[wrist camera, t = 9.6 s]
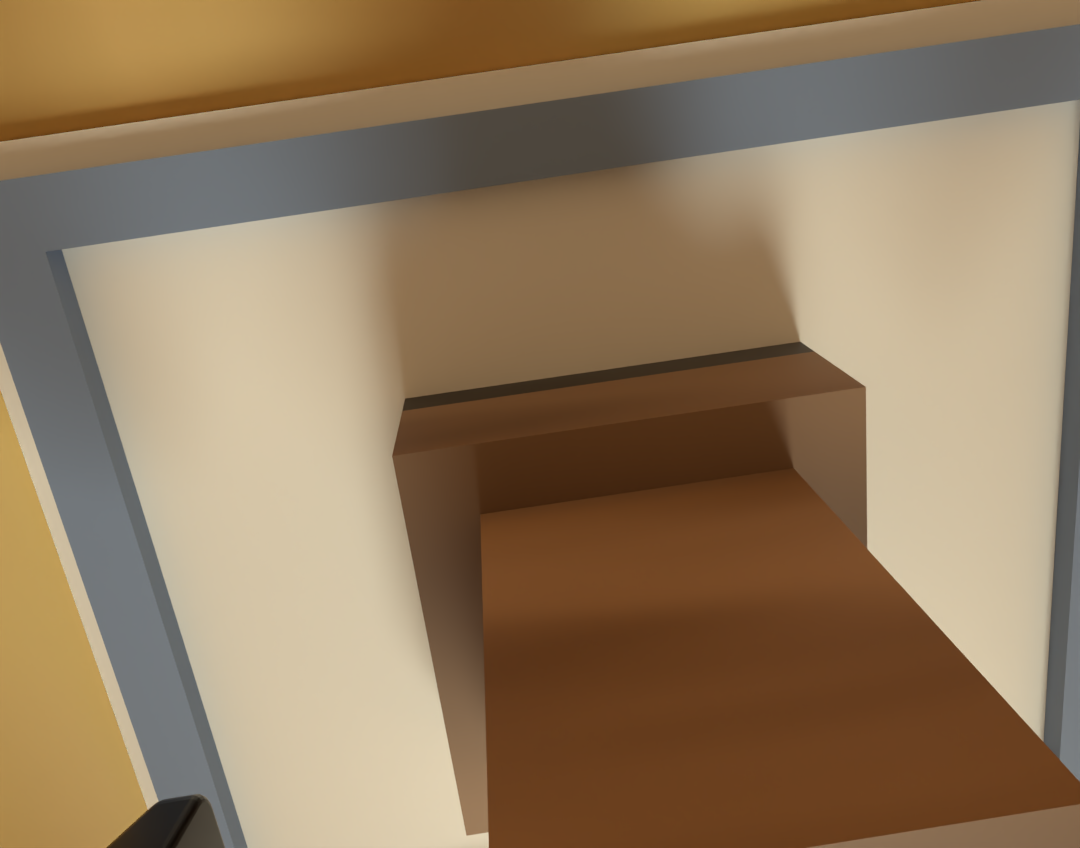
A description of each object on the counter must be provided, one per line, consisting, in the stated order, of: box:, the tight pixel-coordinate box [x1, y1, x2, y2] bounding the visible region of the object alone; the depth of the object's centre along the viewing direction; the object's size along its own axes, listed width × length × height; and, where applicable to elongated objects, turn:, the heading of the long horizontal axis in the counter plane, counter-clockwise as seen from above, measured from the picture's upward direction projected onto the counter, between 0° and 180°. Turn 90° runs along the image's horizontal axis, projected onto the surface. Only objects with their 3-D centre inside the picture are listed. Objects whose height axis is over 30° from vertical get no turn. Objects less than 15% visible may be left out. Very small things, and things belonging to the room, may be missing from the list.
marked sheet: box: [0, 0, 1080, 848], centre depth 12 cm, size 12×14×1 cm
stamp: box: [392, 342, 1080, 848], centre depth 9 cm, size 5×5×7 cm
